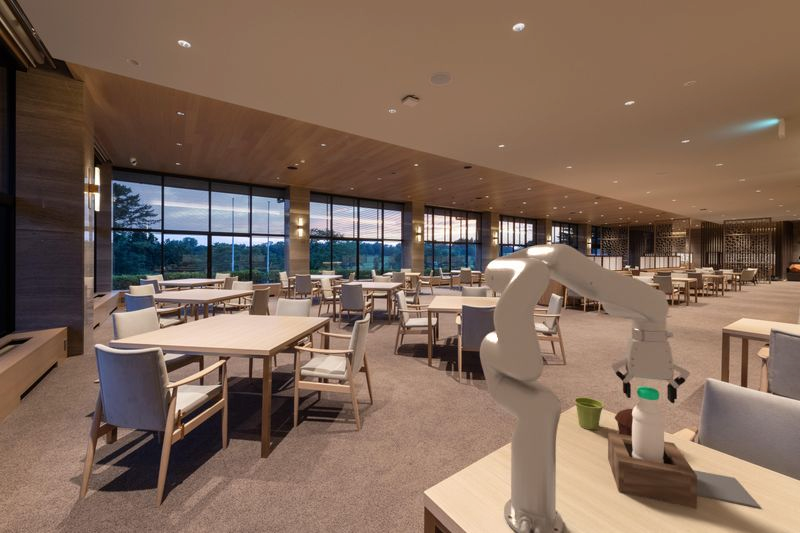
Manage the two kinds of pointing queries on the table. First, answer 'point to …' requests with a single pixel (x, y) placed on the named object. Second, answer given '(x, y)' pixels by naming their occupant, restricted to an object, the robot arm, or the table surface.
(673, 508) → the table surface
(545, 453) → the robot arm
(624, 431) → the muffin
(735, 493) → the mat
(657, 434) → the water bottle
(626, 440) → the slot box
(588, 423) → the plant pot
